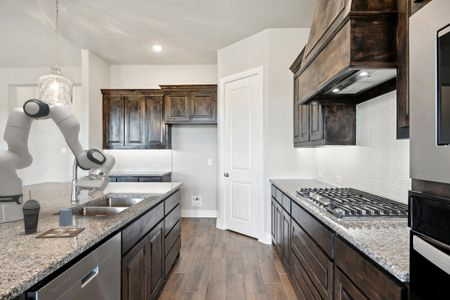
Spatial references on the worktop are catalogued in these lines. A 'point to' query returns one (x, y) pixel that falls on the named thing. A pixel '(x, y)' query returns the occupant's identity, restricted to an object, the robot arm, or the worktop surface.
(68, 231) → the board
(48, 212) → the worktop surface
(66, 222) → the slate block
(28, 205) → the beverage cup
